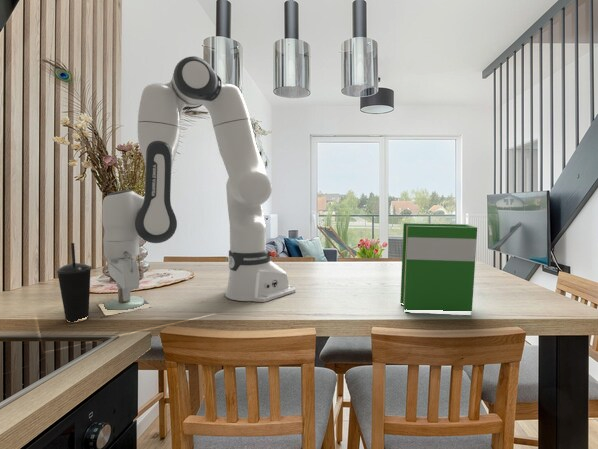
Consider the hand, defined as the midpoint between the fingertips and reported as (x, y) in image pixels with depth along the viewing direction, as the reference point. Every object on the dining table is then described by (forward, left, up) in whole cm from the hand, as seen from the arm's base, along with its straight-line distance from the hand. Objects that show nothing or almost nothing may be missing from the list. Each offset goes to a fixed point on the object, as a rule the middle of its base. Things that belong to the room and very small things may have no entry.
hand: (124, 298), depth 105 cm
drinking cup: (+12, +4, -3) cm, 13 cm away
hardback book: (-69, +53, -3) cm, 87 cm away
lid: (0, 0, -2) cm, 2 cm away
